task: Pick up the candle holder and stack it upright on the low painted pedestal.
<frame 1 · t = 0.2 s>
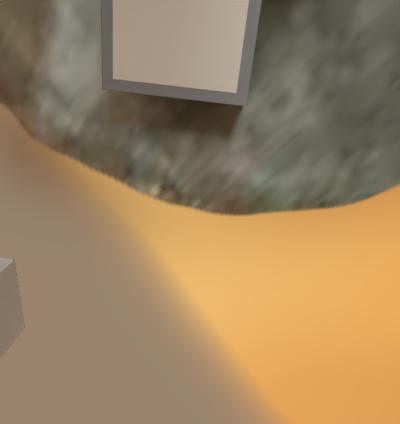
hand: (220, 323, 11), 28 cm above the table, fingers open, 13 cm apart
pedestal: (184, 18, 32), on the table
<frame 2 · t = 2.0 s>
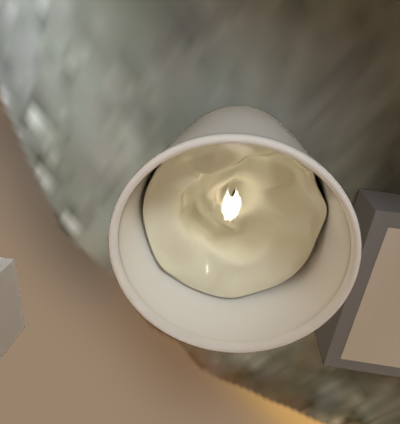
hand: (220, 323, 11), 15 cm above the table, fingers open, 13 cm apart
candle holder: (236, 165, 25), on the table
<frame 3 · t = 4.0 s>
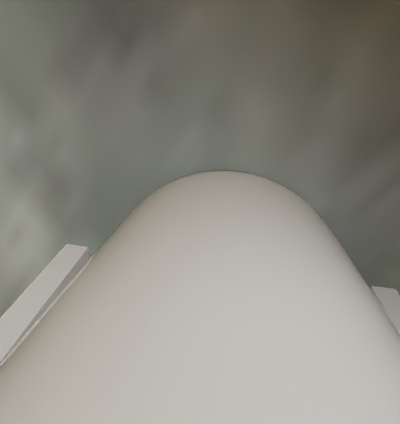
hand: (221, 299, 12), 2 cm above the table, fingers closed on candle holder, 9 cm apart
candle holder: (223, 269, 14), on the table, touching gripper
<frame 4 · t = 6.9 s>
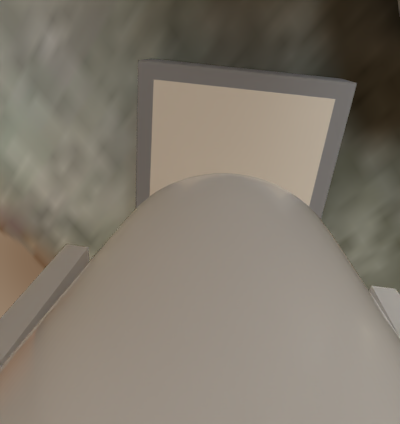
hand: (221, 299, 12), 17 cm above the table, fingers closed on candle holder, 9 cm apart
pedestal: (232, 160, 27), on the table
candle holder: (223, 271, 14), point 15 cm above the table, touching gripper
when the fingers open (6 cm above the table, at t = 9.6 s): candle holder stays where it is, resting on pedestal.
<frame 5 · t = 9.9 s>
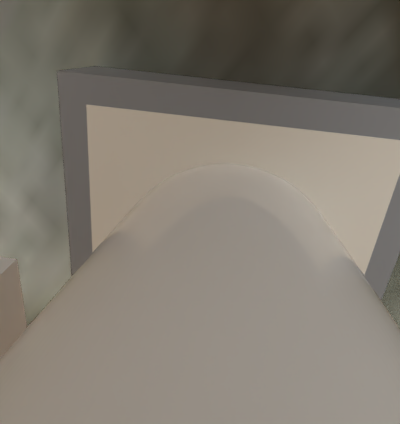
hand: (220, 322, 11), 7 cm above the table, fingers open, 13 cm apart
pedestal: (227, 221, 18), on the table
candle holder: (224, 257, 15), point 3 cm above the table, touching pedestal
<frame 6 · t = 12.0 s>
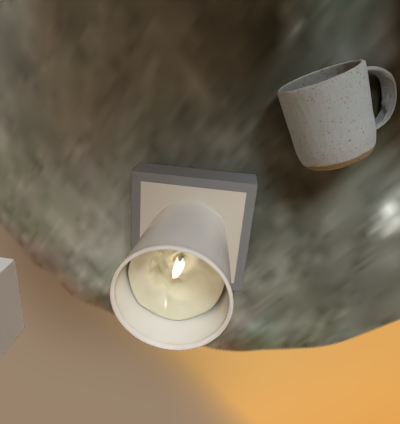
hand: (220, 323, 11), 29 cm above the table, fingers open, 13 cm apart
ceramic mug: (332, 104, 36), on the table
pedestal: (193, 221, 42), on the table
candle holder: (189, 234, 39), point 3 cm above the table, touching pedestal
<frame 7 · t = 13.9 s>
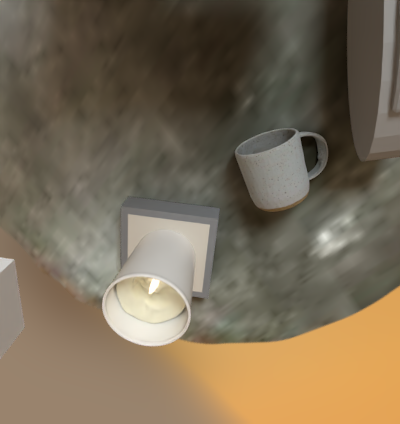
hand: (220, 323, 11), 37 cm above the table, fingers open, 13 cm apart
ceramic mug: (281, 156, 46), on the table
pedestal: (171, 242, 53), on the table
alarm clock: (373, 39, 40), on the table
candle holder: (166, 254, 50), point 3 cm above the table, touching pedestal
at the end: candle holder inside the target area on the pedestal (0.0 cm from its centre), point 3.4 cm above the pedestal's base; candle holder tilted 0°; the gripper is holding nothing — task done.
